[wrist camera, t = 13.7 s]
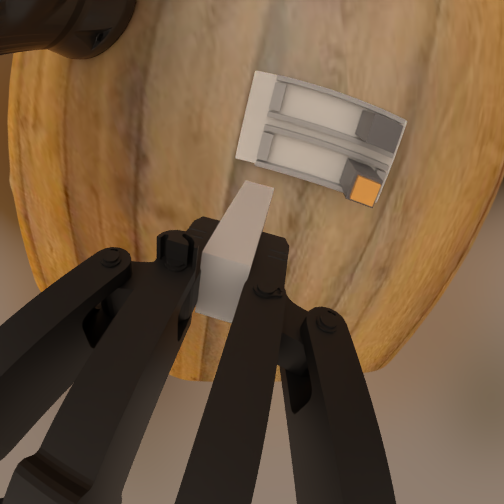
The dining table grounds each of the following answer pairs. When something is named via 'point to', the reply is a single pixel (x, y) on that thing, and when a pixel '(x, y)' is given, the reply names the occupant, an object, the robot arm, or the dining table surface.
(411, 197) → the dining table surface
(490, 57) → the dining table surface
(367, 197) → the handle
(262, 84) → the panel
